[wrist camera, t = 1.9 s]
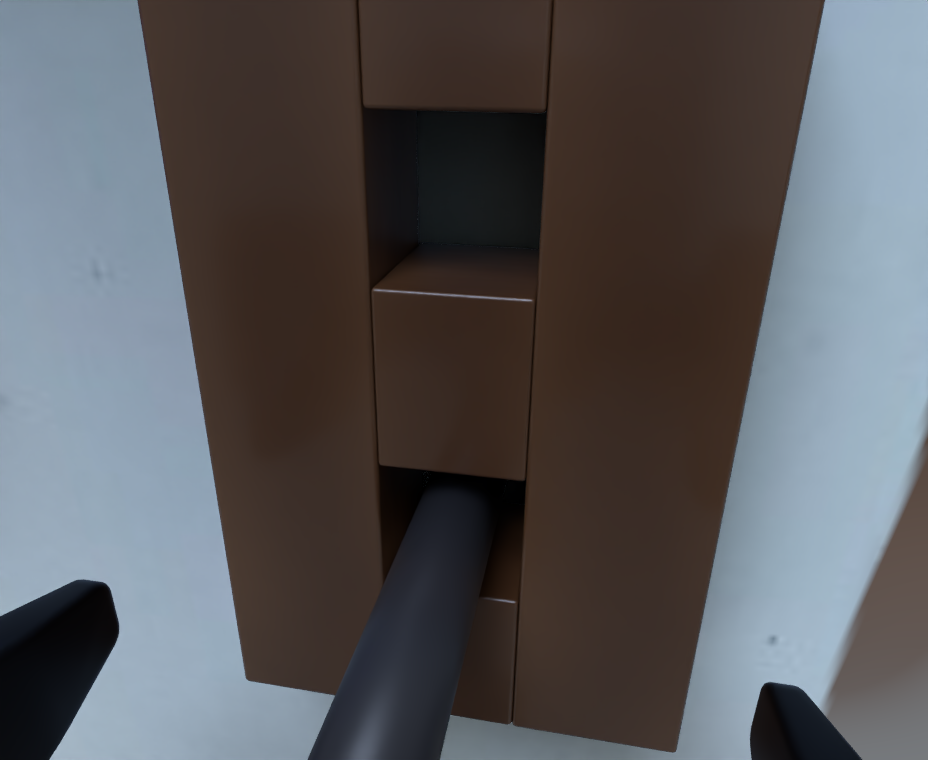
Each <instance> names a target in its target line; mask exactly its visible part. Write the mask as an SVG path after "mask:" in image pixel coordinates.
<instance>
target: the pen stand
mask: <svg viewBox="0 0 928 760" xmlns="http://www.w3.org/2000/svg"><path fill="white" fill-rule="evenodd" d="M824 3H825V0H138V6H139V13H140V19H141V25H142V31H143V38H144V44H145V50H146V56H147V63H148V69H149V75H150V81H151V88H152V94H153V100H154V106H155V113H156V119H157V125H158V131H159V138H160V144H161V150H162V156H163V163H164V169H165V175H166V181H167V188H168V194H169V200H170V206H171V213H172V219H173V225H174V231H175V238H176V244H177V250H178V256H179V263H180V269H181V275H182V281H183V288H184V294H185V300H186V306H187V313H188V319H189V325H190V331H191V338H192V344H193V350H194V356H195V363H196V369H197V375H198V381H199V388H200V394H201V400H202V406H203V413H204V419H205V425H206V431H207V438H208V444H209V450H210V456H211V463H212V469H213V475H214V481H215V488H216V494H217V500H218V506H219V513H220V519H221V525H222V531H223V538H224V544H225V550H226V556H227V563H228V569H229V575H230V581H231V588H232V594H233V600H234V606H235V613H236V619H237V625H238V632H239V638H240V644H241V650H242V657H243V663H244V669H245V675H246V679H247V680H249V681H253V682H259V683H265V684H271V685H277V686H283V687H289V688H295V689H301V690H307V691H312V692H318V693H324V694H330V695H336V693H337V691H338V688H339V686H340V684H341V681H342V679H343V677H344V674H345V672H346V670H347V667H348V665H349V663H350V660H351V658H352V656H353V654H354V651H355V649H356V647H357V644H358V642H359V640H360V637H361V635H362V633H363V630H364V628H365V626H366V624H367V621H368V619H369V617H370V614H371V612H372V610H373V607H374V605H375V603H376V600H377V598H378V596H379V594H380V591H381V589H382V587H383V584H384V582H385V580H386V577H387V575H388V573H389V570H390V568H391V566H392V563H393V561H394V559H395V557H396V554H397V552H398V550H399V547H400V545H401V543H402V540H403V538H404V536H405V533H406V531H407V529H408V527H409V524H410V522H411V520H412V517H413V515H414V513H415V510H416V508H417V506H418V503H419V501H420V499H421V497H422V470H425V471H434V472H443V473H452V474H461V475H470V476H479V477H488V478H497V479H506V480H515V481H524V480H525V479H526V490H525V505H524V504H516V503H507V502H502V503H501V508H500V512H499V516H498V520H497V524H496V528H495V532H494V536H493V541H492V545H491V549H490V553H489V557H488V561H487V565H486V570H485V574H484V578H483V582H482V586H481V590H480V594H479V598H478V603H477V607H476V611H475V615H474V619H473V623H472V627H471V631H470V636H469V640H468V644H467V648H466V652H465V656H464V660H463V665H462V669H461V673H460V677H459V681H458V685H457V689H456V693H455V698H454V702H453V706H452V710H451V714H450V715H454V716H460V717H466V718H472V719H478V720H484V721H490V722H496V723H501V724H507V725H508V724H511V722H513V725H514V726H518V727H524V728H529V729H535V730H541V731H547V732H553V733H559V734H565V735H571V736H577V737H583V738H589V739H595V740H601V741H607V742H613V743H618V744H624V745H630V746H636V747H642V748H648V749H654V750H660V751H666V752H672V753H673V752H675V751H676V749H677V744H678V739H679V734H680V729H681V724H682V719H683V714H684V709H685V704H686V699H687V693H688V688H689V683H690V678H691V673H692V668H693V663H694V658H695V653H696V648H697V643H698V638H699V633H700V628H701V623H702V618H703V613H704V608H705V603H706V598H707V593H708V588H709V583H710V578H711V573H712V567H713V562H714V557H715V552H716V547H717V542H718V537H719V532H720V527H721V522H722V517H723V512H724V507H725V502H726V497H727V492H728V487H729V482H730V477H731V472H732V467H733V462H734V457H735V452H736V447H737V442H738V436H739V431H740V426H741V421H742V416H743V411H744V406H745V401H746V396H747V391H748V386H749V381H750V376H751V371H752V366H753V361H754V356H755V351H756V346H757V341H758V336H759V331H760V326H761V321H762V316H763V311H764V305H765V300H766V295H767V290H768V285H769V280H770V275H771V270H772V265H773V260H774V255H775V250H776V245H777V240H778V235H779V230H780V225H781V220H782V215H783V210H784V205H785V200H786V195H787V190H788V185H789V179H790V174H791V169H792V164H793V159H794V154H795V149H796V144H797V139H798V134H799V129H800V124H801V119H802V114H803V109H804V104H805V99H806V94H807V89H808V84H809V79H810V74H811V69H812V64H813V59H814V54H815V48H816V43H817V38H818V33H819V28H820V23H821V18H822V13H823V8H824ZM417 111H454V112H497V113H539V114H541V113H544V112H546V111H547V120H546V138H545V155H544V173H543V191H542V208H541V226H540V244H539V249H529V248H511V247H493V246H475V245H457V244H439V243H420V244H419V236H418V171H417Z"/></svg>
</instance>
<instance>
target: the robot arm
mask: <svg viewBox="0 0 928 760" xmlns="http://www.w3.org/2000/svg"><path fill="white" fill-rule="evenodd" d="M118 634H119V622H118V618H117V614H116V610H115V606H114V602H113V598H112V594H111V590H110V588H109V587H108V585H107V584H105V583H103V582H97V581H90V580H84V579H83V580H76V581H73V582H71V583H69V584H67V585H65V586H63V587H61V588H59V589H57V590H54V591H52V592H50V593H48V594H46V595H44V596H42V597H40V598H38V599H36V600H34V601H31V602H29V603H27V604H25V605H23V606H21V607H19V608H17V609H15V610H13V611H10V612H8V613H6V614H4V615H2V616H0V760H49V759H50V758H51V756H52V754H53V753H54V751H55V750H56V748H57V747H58V745H59V744H60V742H61V740H62V738H63V737H64V735H65V733H66V732H67V730H68V728H69V727H70V725H71V723H72V721H73V719H74V718H75V716H76V714H77V712H78V710H79V709H80V707H81V705H82V703H83V701H84V700H85V698H86V696H87V694H88V692H89V691H90V689H91V687H92V685H93V683H94V682H95V680H96V678H97V676H98V674H99V673H100V671H101V669H102V667H103V665H104V664H105V662H106V660H107V658H108V656H109V655H110V653H111V651H112V649H113V647H114V646H115V643H116V641H117V638H118ZM750 748H751V758H752V760H862V759H861V758H860V757H859V755H858V754H857V753H856V752H855V750H853V748H852V747H851V746H850V745H849V743H848V742H847V741H846V740H845V739H844V738H843V736H842V735H841V734H840V733H839V732H838V731H837V729H836V728H835V727H834V726H833V725H832V723H831V722H830V721H829V720H828V719H827V718H826V716H825V715H824V714H823V713H822V712H821V711H820V709H819V708H818V707H817V706H816V705H815V704H814V702H813V701H812V700H811V699H810V698H809V696H808V695H807V694H806V693H805V692H804V691H803V690H802V689H800V688H799V687H797V686H792V685H786V684H779V683H772V682H768V683H765V684H764V685H763V687H762V688H761V691H760V695H759V699H758V703H757V707H756V711H755V715H754V718H753V722H752V726H751V733H750Z"/></svg>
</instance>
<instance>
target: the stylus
mask: <svg viewBox="0 0 928 760" xmlns="http://www.w3.org/2000/svg"><path fill="white" fill-rule="evenodd" d="M506 483H507V480H506V479H497V478H488V477H479V476H470V475H461V474H452V473H443V472H434V471H432V473H431V476H430V478H429V480H428V483H427V485H426V487H425V490H424V492H423V494H422V497H421V499H420V501H419V503H418V506H417V508H416V510H415V513H414V515H413V517H412V520H411V522H410V524H409V527H408V529H407V531H406V533H405V536H404V538H403V540H402V543H401V545H400V547H399V550H398V552H397V554H396V557H395V559H394V561H393V563H392V566H391V568H390V570H389V573H388V575H387V577H386V580H385V582H384V584H383V587H382V589H381V591H380V594H379V596H378V598H377V600H376V603H375V605H374V607H373V610H372V612H371V614H370V617H369V619H368V621H367V624H366V626H365V628H364V630H363V633H362V635H361V637H360V640H359V642H358V644H357V647H356V649H355V651H354V654H353V656H352V658H351V660H350V663H349V665H348V667H347V670H346V672H345V674H344V677H343V679H342V681H341V684H340V686H339V688H338V691H337V693H336V695H335V697H334V700H333V702H332V704H331V707H330V709H329V711H328V714H327V716H326V718H325V721H324V723H323V725H322V727H321V730H320V732H319V734H318V737H317V739H316V741H315V744H314V746H313V748H312V751H311V753H310V755H309V757H308V760H440V755H441V751H442V747H443V743H444V739H445V735H446V731H447V726H448V722H449V718H450V714H451V710H452V706H453V702H454V698H455V693H456V689H457V685H458V681H459V677H460V673H461V669H462V665H463V660H464V656H465V652H466V648H467V644H468V640H469V636H470V631H471V627H472V623H473V619H474V615H475V611H476V607H477V603H478V598H479V594H480V590H481V586H482V582H483V578H484V574H485V570H486V565H487V561H488V557H489V553H490V549H491V545H492V541H493V536H494V532H495V528H496V524H497V520H498V516H499V512H500V508H501V503H502V499H503V495H504V491H505V487H506Z"/></svg>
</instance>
